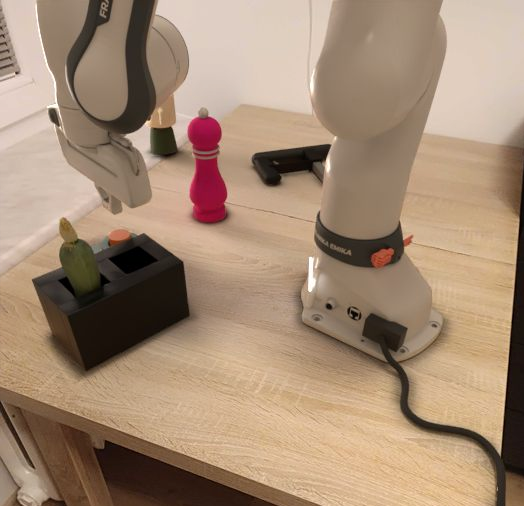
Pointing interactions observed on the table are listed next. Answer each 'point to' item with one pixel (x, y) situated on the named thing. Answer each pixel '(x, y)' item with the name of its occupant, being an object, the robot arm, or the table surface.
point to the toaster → (116, 301)
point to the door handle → (291, 161)
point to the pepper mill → (206, 169)
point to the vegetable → (78, 261)
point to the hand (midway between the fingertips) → (113, 210)
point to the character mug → (163, 128)
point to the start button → (118, 236)
